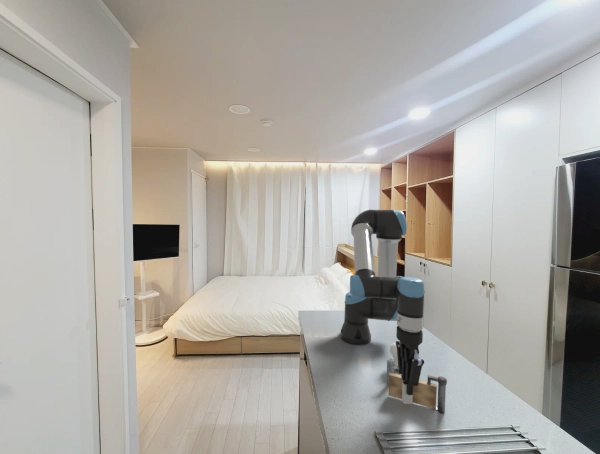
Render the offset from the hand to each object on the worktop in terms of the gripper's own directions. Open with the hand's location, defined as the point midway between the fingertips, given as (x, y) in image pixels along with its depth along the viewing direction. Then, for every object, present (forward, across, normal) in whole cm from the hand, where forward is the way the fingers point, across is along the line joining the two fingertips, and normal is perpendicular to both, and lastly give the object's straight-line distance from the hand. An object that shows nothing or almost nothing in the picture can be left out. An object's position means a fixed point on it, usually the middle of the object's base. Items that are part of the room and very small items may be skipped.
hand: (407, 402), depth 78 cm
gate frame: (+2, -5, +5) cm, 8 cm away
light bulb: (+2, -20, +7) cm, 22 cm away
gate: (+1, -2, +4) cm, 5 cm away
